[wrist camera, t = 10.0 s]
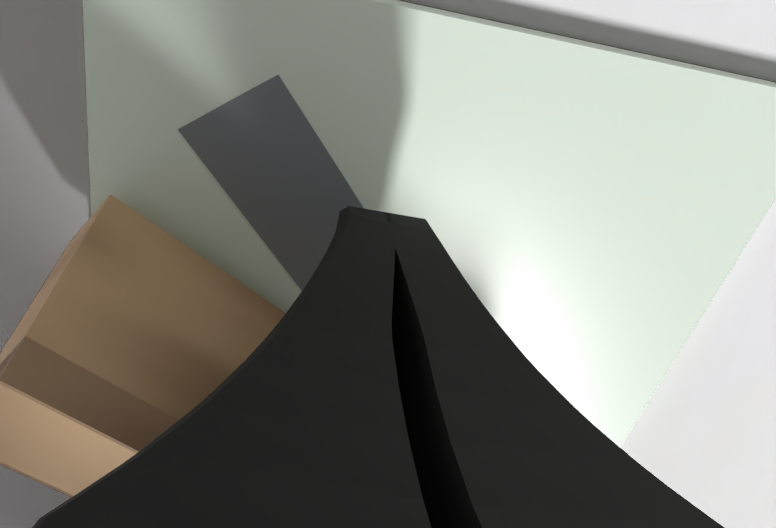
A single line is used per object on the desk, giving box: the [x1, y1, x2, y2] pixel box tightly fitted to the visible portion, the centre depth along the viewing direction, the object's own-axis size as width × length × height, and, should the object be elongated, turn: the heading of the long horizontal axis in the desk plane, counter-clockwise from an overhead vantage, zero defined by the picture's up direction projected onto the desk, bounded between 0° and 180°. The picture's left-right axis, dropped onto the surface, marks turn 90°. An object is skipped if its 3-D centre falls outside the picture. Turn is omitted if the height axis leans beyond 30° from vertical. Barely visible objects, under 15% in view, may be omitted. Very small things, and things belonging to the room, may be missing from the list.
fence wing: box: [0, 194, 286, 497], centre depth 11 cm, size 8×1×4 cm, turn 46°
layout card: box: [82, 0, 776, 448], centre depth 14 cm, size 16×11×1 cm
